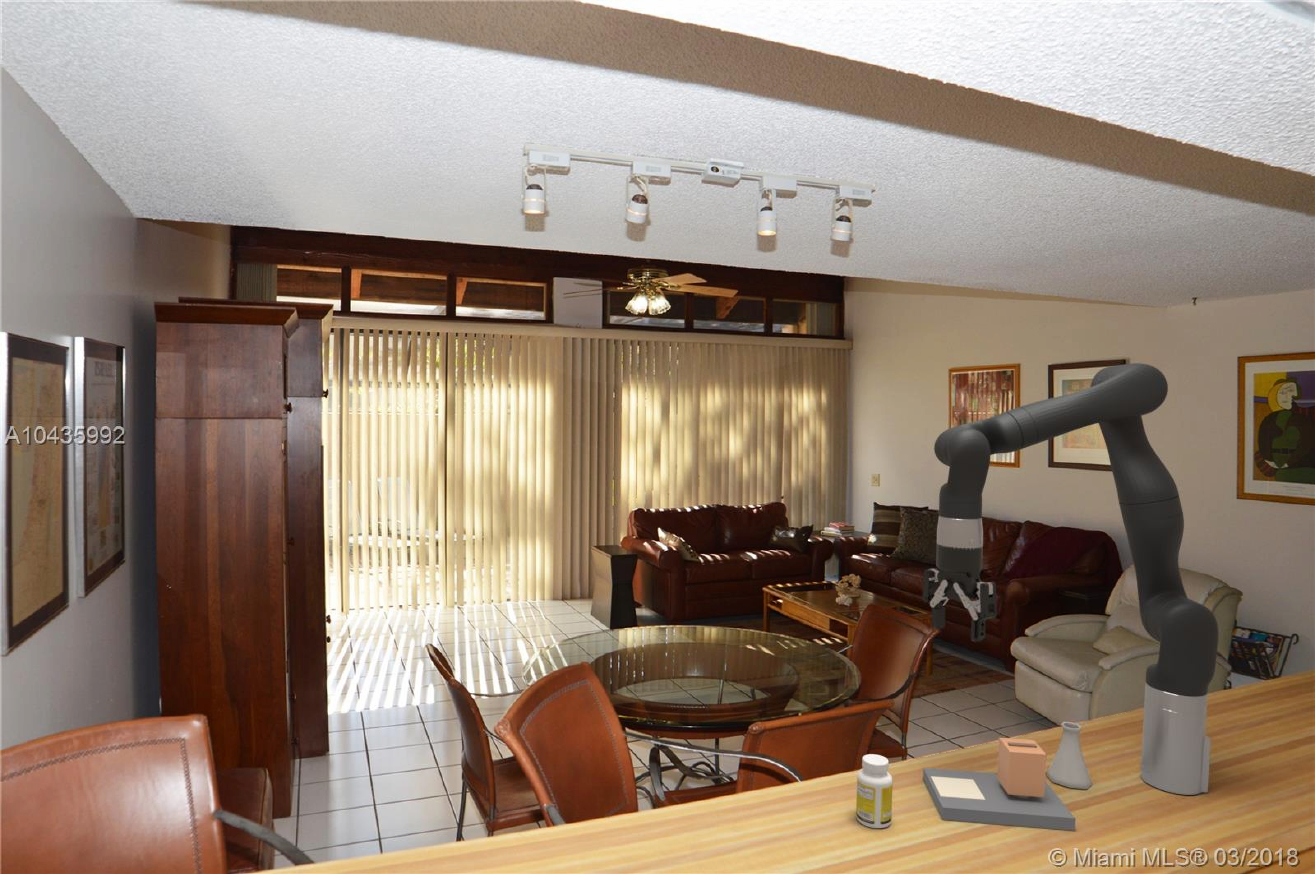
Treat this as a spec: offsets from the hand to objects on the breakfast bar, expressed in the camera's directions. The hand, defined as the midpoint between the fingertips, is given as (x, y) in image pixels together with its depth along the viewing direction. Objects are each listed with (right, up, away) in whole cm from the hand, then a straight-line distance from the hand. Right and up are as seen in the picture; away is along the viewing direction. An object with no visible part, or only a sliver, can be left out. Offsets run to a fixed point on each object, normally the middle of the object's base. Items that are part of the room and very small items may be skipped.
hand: (957, 634), depth 139 cm
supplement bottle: (-19, -26, -14) cm, 35 cm away
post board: (+3, -26, -7) cm, 27 cm away
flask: (+20, -27, +2) cm, 34 cm away
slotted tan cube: (+7, -23, -8) cm, 26 cm away
